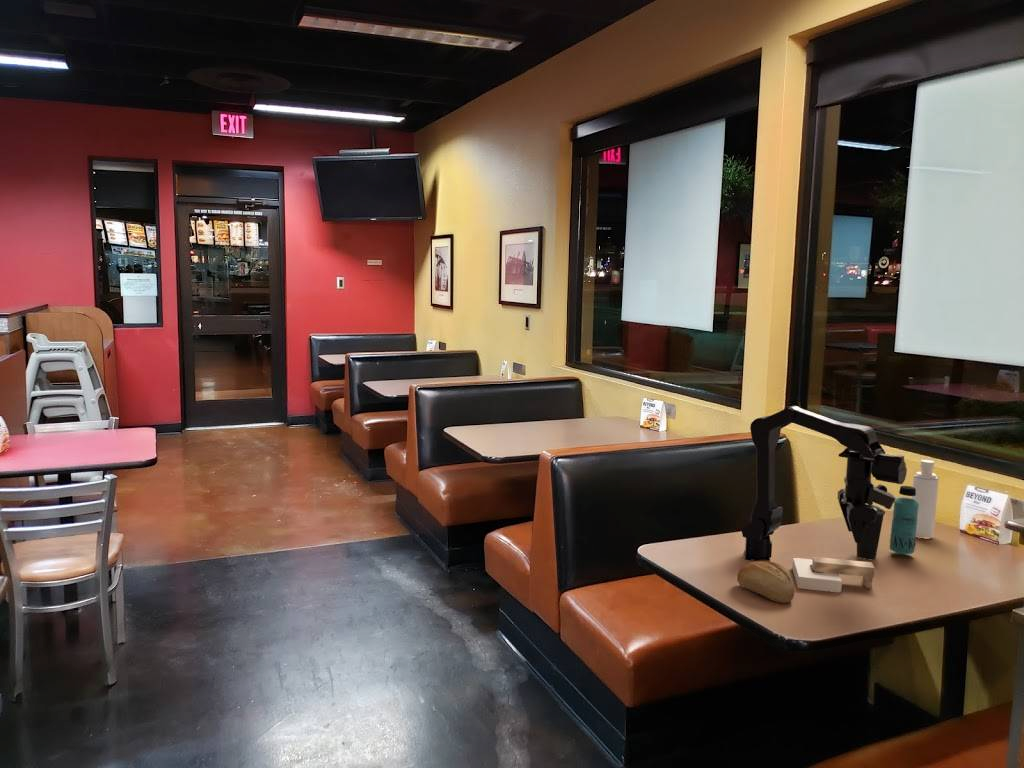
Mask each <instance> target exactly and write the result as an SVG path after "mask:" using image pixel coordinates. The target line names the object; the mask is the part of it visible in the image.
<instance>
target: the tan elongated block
mask: <svg viewBox="0 0 1024 768" xmlns="http://www.w3.org/2000/svg"><path fill="white" fill-rule="evenodd" d="M812 560H813V561H812V567H813V572H816V573H820V572H825V573H835V574H839V575H845V576H854V577H855V576H857V577H862V578H861V579H862V581H861V584H863V587H864V586H865V587H866V588H865V587H864V588H865V589H871V588H872V589H873V579H874V578H875V569H876V568H875V566H874V564H873V563H872V562H871V561H860V560H852V559H851V560H849V559H842V558H841V559H839V558H831V557H822V556H812Z"/></svg>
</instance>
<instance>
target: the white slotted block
mask: <svg viewBox="0 0 1024 768" xmlns="http://www.w3.org/2000/svg"><path fill="white" fill-rule="evenodd" d="M812 561H813V559H811V558H801V557H800V558H799V557H793V558H792V567H791V568H792V572H793V575H794V579H795V582H796V586H797V588H798V589H801V588H802V590H803V589H804V590H813V591H819V592H829V591H830V592H831V593H838V592H839V594H841V593H842V587H843V586H842V585H843V584H842V583H843V581H842V579H841V576H840V574H835V573H825V572H820V573H816V572H813V567H812ZM830 592H829V593H830Z"/></svg>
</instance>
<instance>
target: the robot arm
mask: <svg viewBox="0 0 1024 768" xmlns="http://www.w3.org/2000/svg"><path fill="white" fill-rule="evenodd" d="M791 424H795V425H797V426H801V427H803V428H807V429H809V430H811V431H814V432H817V433H820V434H822V435H825V436H827V437H830V438H833V439H834V440H836V441H837V442H838V443H839V444H840V445H842V446H843V447H845V449H844V450H843V451H842V452H840V453H838V457H839V458H845V459H846V469H845V470H846V471H845V473H846V474H845V477H844V478H843V480H844V481H843V482H844V484H845V485H844V486H845V487H844V488H840V490H838V491H837V500H838V505H839V507H840V510H841V513H842V516H843V518H844V522H845V525H846V527H847V530H848V532H851V533H852V536H853V540H854V542H855V544H857V543H860V542H861V539H862V537H863V534H864V531H865V529H866V527H867V525H868V524H869V523H871V522H874V521H875V520H877V511H876V510H875V509H874V508H873V507H872V506H871V505H869V504H872V505H874V503H875V504H877V505H880V506H881V507H884V508H885V509H887V510H891V509H892V507H893V506H894V501H895V500H896V499H897V498H896V497H895V496H894V495H893V494H892V493H891V492H888V487H887V486H886V485H884V484H881V483H880V484H878V485H877V486H875V485H874V483H872V477H873V478H874V479H875V481H880V482H885V483H891V484H896V485H903V484H904V482H905V480H906V477H907V472H908V470H907V469H908V468H907V464H906V462H905V456H904V455H898V454H897V455H893V454H887V453H886V451H885V449H884V448H883V446H882V444H881V443H880V441H879V440H878V436H877V433H876V431H875V429H874V428H873V427H870V426H868V425H862V424H857V423H849V422H848V423H847V422H841V421H838V420H835V419H832V418H829V417H826V416H823V415H821V414H819V413H818V414H817V413H815V412H812V411H809V410H807V409H804V408H801V407H799V406H797V405H792V406H788V407H784V409H781V410H780V411H778V412H776V413H773V414H772V415H771V414H770V415H766V416H762V417H758V418H755V419H754V420H753V421H752V422H751V423H750V426H749V427H750V428H749V431H750V434H751V440H752V443H753V445H754V447H755V448H756V501H755V504H754V507H753V508H752V512H751V517H750V522H749V523H748V524H747V525H745V526H744V527H743V528H742V529H741V530H740V531H741V535H742V538H745V543H744V550H743V554H744V560H747V561H754V562H756V561H760V560H767V561H771V560H770V559H772V551H773V550H772V549H773V542H772V541H771V536H773V535H774V532H775V531H776V530H778V529H779V528H780V526H781V525H782V522H784V519H783V509H784V508H783V506H778V504H777V502H776V500H775V499H776V497H775V496H776V495H775V494H776V493H775V492H776V490H775V489H776V488H775V487H776V486H775V485H776V484H775V483H776V481H775V478H776V477H775V476H776V475H775V474H776V469H775V468H776V461H775V459H776V454H775V453H776V448H777V445H778V443H779V440H780V437H781V430H782V429H783V428H785V427H787V426H789V425H791Z"/></svg>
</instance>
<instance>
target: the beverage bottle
mask: <svg viewBox="0 0 1024 768" xmlns="http://www.w3.org/2000/svg"><path fill="white" fill-rule="evenodd" d="M898 493H899V494H900V495H902V496H898V497H897V498H896V499H895V501H894V503H893V512H892V520H891V528H890V531H891V532H890V536H889V537H890V539H889V549H890V550H891V551H892V552H894V553H897V554H898V553H899V554H902V555H912V554H913V553H914V552H915V550H916V540H917V538H916V529H917V517H918V507H919V503H918V502H917V501H916V500H915V499H913V498H912V496H915V495H916V489H915V488H914V487H913V486H910V485H902V486H900V487H899V491H898Z"/></svg>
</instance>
